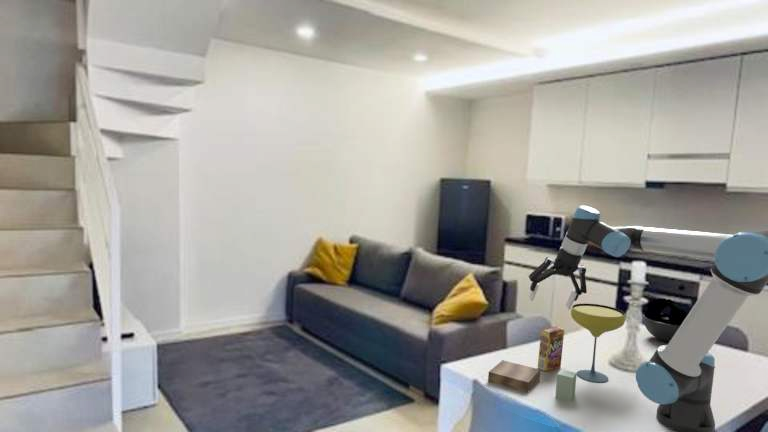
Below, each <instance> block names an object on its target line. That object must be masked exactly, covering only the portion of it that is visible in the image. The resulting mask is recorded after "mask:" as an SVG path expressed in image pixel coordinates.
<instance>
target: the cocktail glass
mask: <svg viewBox="0 0 768 432" xmlns="http://www.w3.org/2000/svg"><path fill="white" fill-rule="evenodd" d="M570 315H571V318H572V319H573V321H575V322H576V324H578V326H580V327H583V328H584V329H586V330H587V331H589V333H590V334H591V335H592V337H593V338H594V344H593V354H592V362H591V363H592V365H591V369H581V370H578V371H577V372H576V373H577V374H576V376H578V377H579V378H580V379H582V380H584V381H588V382H591V383H599V384H600V383H602V384H603V383H607V382H608V381H609V377H608V376H607V375H606V374H604V373H602V372H599V371H596V370H595V363H596V351H597V350H596V347H597V338H600V337H601V336H602V335H603V334H605V333H607V332H612V331H615V330H618V329H620V328H622V327H623V326H624V325H625V322H626V314H625V312H624V311H623V310H621V309H618V308H616V307H611V306H608V305H603V304H598V303H577V304H572V306H571V309H570Z"/></svg>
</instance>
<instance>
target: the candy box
mask: <svg viewBox="0 0 768 432" xmlns="http://www.w3.org/2000/svg"><path fill="white" fill-rule="evenodd" d="M540 331H541V332H540V339H539V349H538V361H537V369H540V371H541V370H542V371H544V372H548V371H551V370H556V369H560V368H561V366H562V358H563V357H562V356H563V345H564V337H565V329H564V328H562V327H560V326H551V327H547V328H541V330H540Z"/></svg>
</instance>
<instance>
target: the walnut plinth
mask: <svg viewBox="0 0 768 432" xmlns="http://www.w3.org/2000/svg"><path fill="white" fill-rule="evenodd" d="M487 375H488V376H487V377H488V378H487V380H488V381H487V382H488V383H492V384H495V385H498V386H502V387H506V388H509V389H513V390H516V391H519V392H523V393H529V392H530V390H532V388H533V387H534V386H535V385H536V384H537V383H538V382H539V380H540V379H541V378H540V377H541V369H539V368H537V367H536V368H535V367H532V366H528V365H523V364H519V363H515V362H512V361H509V360H500V362H499V363H497V364H496V365H495V366H494V367H493V368H491V369H490V370H489V371H488V374H487Z"/></svg>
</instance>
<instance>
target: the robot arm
mask: <svg viewBox="0 0 768 432" xmlns="http://www.w3.org/2000/svg"><path fill="white" fill-rule="evenodd" d="M600 219H601V213H600V211H599V210H597V209H596V208H593V207H591V206H588V205H579V206H578V207H577V208H576V210H575V212H574V214H573V216H572V218H571V220H570V223H569V226H568V229H567V231H566V233H565V236H564V238H563V240H562V242H561V246H560V247H559V250H558V252H557V254H556V257H555V259H552V258H550V257H549V256H547V257H545V259H544V260H543V262H542V263H541V264H540V265H539V266H538V267H537V268H536V269H534V270H533V271H532V272H531V273H530V274H529V275H528V278H529V280H530V281H531V285H530V287H529V288H530V289H529V290H530V293H529V296H528V298H529V299H530V301H532V302H533V301H534V299H535V297H536V295H537V292H538V289H539V288H540V283H541V282H543V281H544V280H547V279H548V278H550V277H551V276H553V275H554V276H555V275H556V274H557V275H561V276H562V275H563V276H564V277H569V278H570V280H571V283H572V284H573V287H574V289H571V292H570V294H569V297H568V299H567V302H566V303H565V306H566V308H567V309H568V310H571V309H572V306H573V305H574V302H576V301H577V300H578V298H579V296H581V295H582V293H583V294H587V293H588V292H587V290H588V289H587V281H586V272H587V268H586V266H585V265H584V264H582V265H580V263H581V260H582V259H583V255H584V253H585V252H586V249H587V246H588V245H589V243H590V244H592V245H594V246H596V247H597V248H599V249H600V250H602V251H603V252H604V253H606V254H607V255H611V256H612V257H616V258H620V257H622V255H625V254H626V252H628V250H636V251H641V252H642V251H643V252H653V253H660V254H667V255H676V256H682V257H683V256H684V257H692V258H700V259H708V260H713V261H714V263H713V264H712V266H711V268H710V272H711V275H712V278H711V280H710V281H709V283H708V284H707V286H706V287H705V289H704V290H703V291H702V293H701V295H700V296H699V298H698V299H697V301H696V302H695V304H694V305H693V306H692V308H691V310H690V311H689V313H688V314H687V317H686V318H685V320H684V321H683V323H682V324H681V326H680V327H679V329H678V330H677V332H676V333H675V335H674V336H673V338H672V339H671V341H670V342H668V344H663V345H659V346H658V348H657V349H656V350H655V352H654V354H652V356H651V358H650V359H649V360H648V361H644V362H642V364H640V365H639V366H638V367H637V369H636V372H635V381H636V382H637V387H638V389H639V391H640V392H641V393H642V394H643V396H645V397H646V399H648V400H649V401H651V402H653V403H655V404H658V406H657V409H656V419H657V421H658V422H659V423H660V424H662V426H663V425H664V426H665V427H666V428H668V429H670V430H672V431H674V432H715V430H716V422H715V418H714V415H713V410H712V406H711V401H712V400H711V399H712V393H713V392H712V391H713V383H714V375H715V368H716V366H715V357H714V356H713V354H711V353H709V351H710V350H711V349H712V348H713V346H714V345H715V343H716V342H717V340H718V339H719V337H720V336H721V335H722V333H723V332H724V331H725V329H726V328H727V326H728V325H729V324H730V323H731V322H732V320H733V318H734V317H735V316H736V314H737V313H738V311H739V310H740V309H741V308H742V306H743V305H744V303H745V302H746V300H747V299H748V298H749V297H750V296H757V295H759V294H761V293H762V291H763V290H764V288H765V287H766V286H767V285H768V230H764V231H763V230H761V231H739V232H738V233H735V234H728V233H720V232H719V233H718V232H707V231H693V230H682V229H680V230H679V229H672V228H671V229H669V228H659V227H658V228H657V227H644V226H641V225H630V226H629V225H628V226H610V225H609V224H607V223H604V222H603V221H602V220H600ZM577 271H578V273H579V283H580V284H578V281H577V278H576V276H575V274H574V273H575V272H577ZM579 285H580V286H579Z"/></svg>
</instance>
